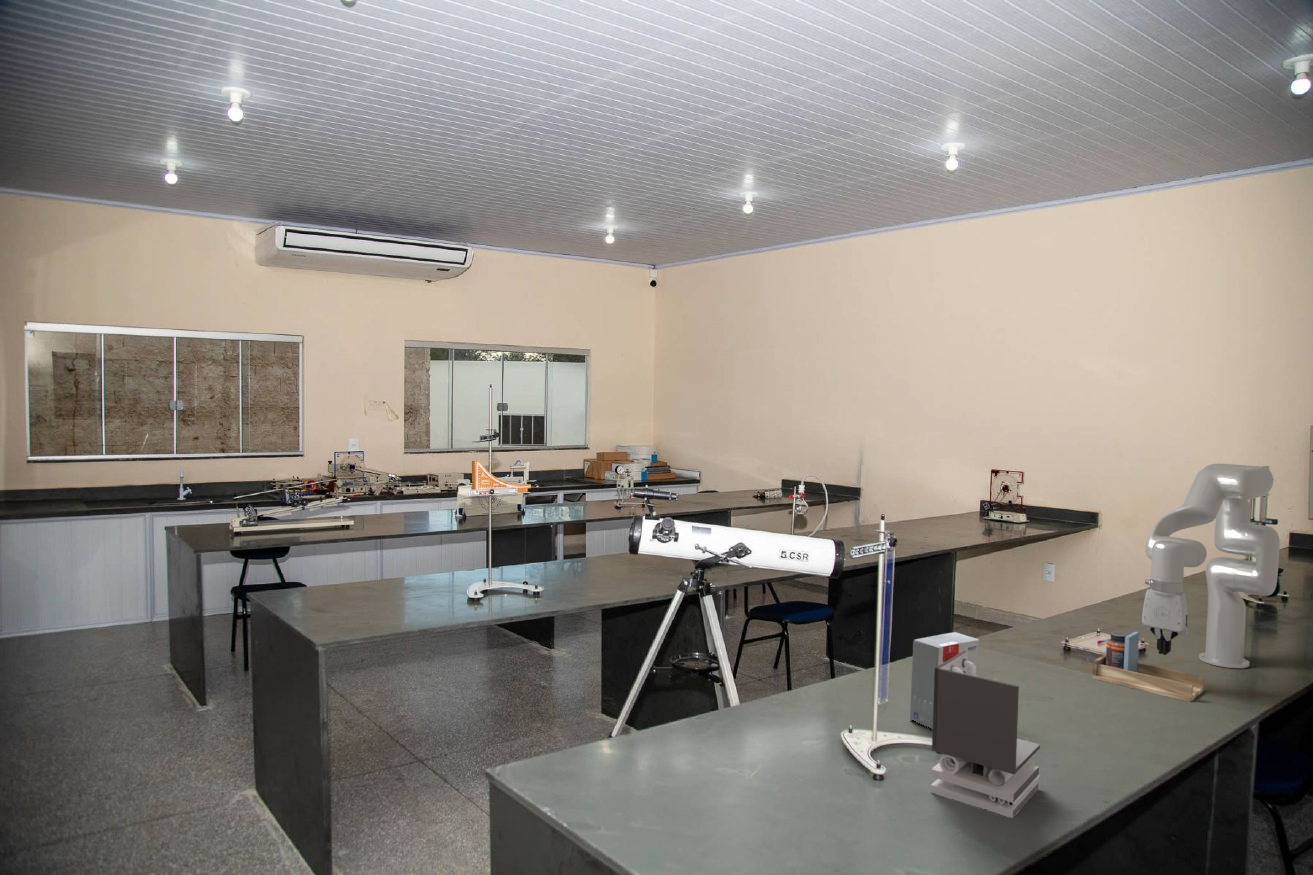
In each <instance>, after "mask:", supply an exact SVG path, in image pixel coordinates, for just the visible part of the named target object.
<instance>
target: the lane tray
mask: <svg viewBox="0 0 1313 875" xmlns="http://www.w3.org/2000/svg"><path fill="white" fill-rule="evenodd" d="M1091 673H1092V680H1093V679H1094V680H1097V681H1101V682H1106V683H1110V684H1114V685H1118V686H1121V687H1126V688H1131V689H1135V690H1138V691H1143V692H1147V693H1151V694H1155V695H1159V696H1163V697H1168V698H1170V699H1171V698H1172V699H1177V700H1181V701H1185V702H1188V701H1189V702H1188V703H1191V702H1192V701H1193V700H1195V699H1196V698H1197V697H1199V696H1200V695H1201V693H1204V691H1205V686H1204V679H1205V678H1204V676H1202V675H1196V674H1194V673H1189V672H1188V673H1187V672H1183V671H1178V670H1174V669H1170V668H1165V667H1161V666H1156V665H1151V664H1148V663H1147V664H1146V663H1142V662H1139V661H1138V666H1137V672H1133V671H1129V670H1124V669H1120V668H1115V667H1111V666H1107V665H1106V653H1105V654H1103V655H1101V656H1100V657H1097V658H1095V659H1094V660H1093V661H1092V672H1091ZM1190 701H1191V702H1190Z"/></svg>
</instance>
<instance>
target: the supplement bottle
mask: <svg viewBox="0 0 1313 875" xmlns="http://www.w3.org/2000/svg"><path fill="white" fill-rule="evenodd" d="M1126 636H1128V635H1127V634H1125V633H1123V632H1115V631H1114V632H1111V633H1110V639H1108V640H1107V641H1106V648H1105V650H1106V651H1105V652H1106V653H1105V654H1106V665H1107V666H1111V667H1115V668H1120V669H1124V651H1125V637H1126Z"/></svg>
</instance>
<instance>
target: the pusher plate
mask: <svg viewBox="0 0 1313 875" xmlns="http://www.w3.org/2000/svg"><path fill="white" fill-rule="evenodd" d="M1139 636H1140V632H1139V631H1134V632H1131V633H1130V634H1128V635H1127V636H1126V637H1125V651H1124V670H1129V671H1133V672H1137V666H1138V662H1139V642H1140V641H1139V640H1140V639H1139Z"/></svg>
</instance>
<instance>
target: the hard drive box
mask: <svg viewBox="0 0 1313 875" xmlns="http://www.w3.org/2000/svg"><path fill="white" fill-rule="evenodd" d="M979 644H980V639H979V638H975V637H973V636H970V635H969V636H968V635H966V634H962V633H959V632H956V631H954V632H948V633H947V632H946V633H941V634H937V635H932V636H927V637H921V638H916V639H913V642H912V664H911V665H912V666H911V667H912V669H911V684H910V686H911V687H910V702H909V705H910V706H909V720H910V721H912V720H914V721H916V722H915V723H917V722H918V723H917V724H919V723H920V724H919V725H921V724H922V726H923V725H924V727H926V726H927V727H926V728H928V727H929V728H928V729H930V728H931V730H933V703H934V672H935V668H936V667H938V666H939V665H941V664H943V663H944V662H946V661H948V660H949V659H951V658H953V657H954V656H956V655H958V654H959V653H961V652H963V651H968V661H970V662H972V663H974V665H975V666H976V677H978V667H979V666H978V665H979V664H978V663H979V646H980V645H979ZM967 673H968V674H971V668H970V667H967ZM914 721H913V722H914Z"/></svg>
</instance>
